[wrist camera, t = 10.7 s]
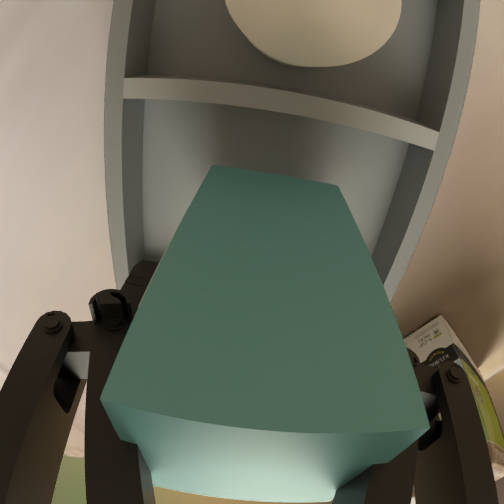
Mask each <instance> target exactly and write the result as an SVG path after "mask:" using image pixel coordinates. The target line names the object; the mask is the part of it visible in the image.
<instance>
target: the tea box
mask: <svg viewBox="0 0 504 504" xmlns="http://www.w3.org/2000/svg"><path fill="white" fill-rule="evenodd" d="M403 340H404V343H405V346H406V347H407V348H409V349H411V350H412V351H413V352H415V353H416V355H417V356H418V358H419V360H420V363H422V364H425V365H428V366H431V367H434V368H437V369H438V367H439V366H440V365H441V364H442V363H443V362H446V361H451V362H455V363H457V364H458V365H460V366H461V367H462V368H463V369H464V371H465V373H466V375H467V377H468V380H469V383H470V386H471V389H472V392H473V395H474V399H475V402H476V405H477V408H478V412H479V415H480V419H481V422H482V426H483V430H484V434H485V438H486V442H487V446H488V450H489V454H490V459H491V464H492V468H493V473H494V479H495V481H496V480H497V479H499V478H501V477H503V476H504V435H503V431H502V429H501V425H500V422H499V419H498V417H497V414H496V411H495V408H494V406H493V403H492V400H491V397H490V395H489V392H488V390H487V387H486V384H485V382H484V380H483V377H482V375H481V373H480V371H479V369H478V368H477V366H476V365H475V363H474V362H473V360H472V358H471V357H470V355H469V354H468V352H467V351H466V349H465V347H464V346H463V344H462V343H461V341H460V340H459V339H458V337H457V336H456V334H455V333H454V331H453V330H452V328H451V327H450V326H449V324H448V323H447V321H446V320H445V319H444V317H443V316H442V315H440V316H438V317H437V318H435V319H434V320H432V321H430V322H429V323H427V324H426V325H424V326H423V327H421V328H419V329H418V330H416V331H415V332H413V333H412V334H410V335H409V336H407V337H406V338H404V339H403ZM439 418H440V420H442V419H441V415H440V414H439ZM411 504H415V491H414V485H413V492H412V498H411Z"/></svg>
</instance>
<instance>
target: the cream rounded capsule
mask: <svg viewBox="0 0 504 504" xmlns="http://www.w3.org/2000/svg"><path fill="white" fill-rule="evenodd" d="M225 3H226V6H227V8H228V11H229V13H230V15H231V17H232V18H233V20H234V22H235V23H236V24H237V26H238V27H239V28H240V30H241V31H242V32H243V33H244V35H245V36H246V37H247V38H248V40H249V41H250V42H251V44H252V45H253V46H254V47H255V48H256V49H257V50H258V51H259V52H260V53H261V54H263V55H264V56H265V57H267V58H269V59H270V60H272V61H275V62H277V63H280V64H282V65H287V66H292V67H331V66H340V65H345V64H350V63H353V62H356V61H359V60H361V59H363V58H365V57H368V56H369V55H371V54H372V53H374V52H376V51H377V50H378V49H379V48H380V47H382V46H383V45H384V44H385V43H386V42H387V40H388V39H389V38H390V37H391V35H392V34H393V32H394V30H395V29H396V26H397V24H398V21H399V18H400V14H401V5H402V0H225Z"/></svg>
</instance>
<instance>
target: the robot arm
mask: <svg viewBox="0 0 504 504" xmlns="http://www.w3.org/2000/svg"><path fill="white" fill-rule="evenodd" d="M186 211H187V210H186ZM185 213H186V212H185ZM184 215H185V214H184ZM183 217H184V216H183ZM182 219H183V218H182ZM181 221H182V220H181ZM181 221H180V223H181ZM180 223H179V224H180ZM178 226H179V225H178ZM177 228H178V227H177ZM176 230H177V229H176ZM175 232H176V231H175ZM174 234H175V233H174ZM173 236H174V235H173ZM172 238H173V237H172ZM171 240H172V239H171ZM170 242H171V241H170ZM170 242H169V244H170ZM169 244H168V246H169ZM168 246H167V248H168ZM167 248H166V250H167ZM166 250H165V252H166ZM165 252H164V254H165ZM164 254H163V256H164ZM163 256H162V258H163ZM162 258H161V260H162ZM161 260H160V262H161ZM160 262H153V261H147V260H142V261H140V262H139V263H138V264H136V265H135V266H134V267H133V268H132V270H131V272H130V274H129V276H128V277H127V279H126V280H125V283H124V284H123V286H122V288H121V289H120V290H116V289H107V290H103V291H100V292H98V293H96V294H95V295H94V296H93V297H92V298H91V300H90V302H89V307H90V311H91V315H92V319H93V321H84V322H71V319H70V317H69V316H68V315H67V314H66V313H64V312H61V311H51V312H47V313H45V314H44V315H42V316H41V317H40V318H39V319H38V320H37V322H36V323H35V325H34V327H33V329H32V330H31V332H30V334H29V336H28V338H27V339H26V341H25V343H24V345H23V347H22V349H21V351H20V352H19V354H18V356H17V358H16V360H15V362H14V364H13V366H12V368H11V370H10V372H9V374H8V376H7V378H6V380H5V382H4V384H3V387H2V389H1V391H0V504H51V502H52V497H53V493H54V489H55V484H56V480H57V476H58V472H59V469H60V465H61V461H62V457H63V454H64V450H65V447H66V443H67V440H68V436H69V433H70V430H71V427H72V423H73V420H74V417H75V414H76V411H77V408H78V405H79V402H80V399H81V396H82V393H83V390H84V387H85V384H86V382H87V391H86V409H85V482H86V500H87V504H155V497H154V491H153V484H152V476H151V472H150V470H149V468H148V466H147V464H146V462H145V460H144V458H143V456H142V454H141V451H140V449H139V447H138V445H137V444H135V443H131V442H127V441H124V440H120V438H119V436H118V434H117V432H116V431H115V429H114V427H113V425H112V423H111V421H110V419H109V417H108V415H107V413H106V411H105V409H104V406H103V404H102V402H101V400H100V397H101V394H102V392H103V389H104V387H105V384H106V382H107V379H108V377H109V374H110V372H111V370H112V367H113V365H114V362H115V360H116V358H117V355H118V353H119V350H120V348H121V346H122V343H123V341H124V339H125V337H126V334H127V332H128V330H129V328H130V325H131V323H132V321H133V319H134V316H135V314H136V312H137V310H138V308H139V305H140V303H141V301H142V299H143V297H144V295H145V293H146V291H147V288H148V286H149V284H150V282H151V280H152V278H153V276H154V274H155V272H156V270H157V268H158V266H159V264H160ZM406 349H407V351H408V354H409V357H410V360H411V364H412V367H413V370H414V373H415V376H416V379H417V383H418V386H419V389H420V393H421V396H422V399H423V403H424V406H425V410H426V414H427V417H428V421H429V425H430V429H428V430H427V431H426V432H425V433H424V434H423V435H422V436H420V437H419V438H418V439H417V440H416V441H415V442H413V443H412V444H411V445H410V446H408V447H407V448H406V449H405V450H404V451H402V452H401V453H400V454H398V455H397V456H396V457H395V458H393V459H392V460H391V461H389V462H388V463H382V464H372V465H371V466H370V467H368V468H367V469H366V470H364V471H363V472H362V473H360V474H359V475H357V476H356V477H355V478H353V479H352V480H350V481H349V482H348V483H346V484H345V485H343V486H342V487H340V488H339V489H337V490H336V492H335V495H334V499H333V502H332V504H411V498H412V492H413V485H414V491H415V504H498V497H497V491H496V484H495V479H494V473H493V468H492V464H491V459H490V454H489V450H488V446H487V442H486V438H485V434H484V430H483V426H482V422H481V419H480V415H479V412H478V408H477V405H476V402H475V399H474V395H473V392H472V389H471V386H470V383H469V380H468V377H467V375H466V373H465V371H464V369H463V368H462V367H461V366H460V365H458V364H457V363H455V362H451V361H446V362H443V363H442V364H441V365H440V366H439V367H438V369H437V368H434V367H431V366H428V365H425V364H422V363H420V360H419V358H418V356H417V355H416V353H415V352H413V351H412V350H411V349H409V348H407V347H406ZM439 414H440V415H441V419H442V420H440V418H439Z"/></svg>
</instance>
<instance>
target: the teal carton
mask: <svg viewBox="0 0 504 504" xmlns="http://www.w3.org/2000/svg"><path fill="white" fill-rule="evenodd" d="M100 400H101V402H102V404H103V406H104V409H105V411H106V413H107V415H108V417H109V419H110V421H111V423H112V425H113V427H114V429H115V431H116V432H117V434H118V436H119V438H120V440H124V441H127V442H131V443H135V444H137V445H138V447H139V449H140V451H141V454H142V456H143V458H144V460H145V462H146V464H147V466H148V468H149V470H150V472H151V476H152V484H153V486H157V487H162V488H166V489H171V490H176V491H181V492H186V493H192V494H199V495H204V496H211V497H219V498H227V499H236V500H249V501H263V502H329V501H331V500H333V499H334V495H335V492H336V490H337V489H339V488H340V487H342V486H343V485H345V484H346V483H348V482H349V481H350V480H352V479H353V478H355V477H356V476H357V475H359V474H360V473H362V472H363V471H364V470H366V469H367V468H368V467H370V466H371V465H372V464H382V463H388V462H389V461H391V460H392V459H393V458H395V457H396V456H397V455H398V454H400V453H401V452H402V451H404V450H405V449H406V448H407V447H408V446H410V445H411V444H412V443H413V442H415V441H416V440H417V439H418V438H419V437H420V436H422V435H423V434H424V433H425V432H426V431H427V430H428V429H430V425H429V421H428V417H427V414H426V410H425V406H424V403H423V399H422V396H421V393H420V389H419V386H418V383H417V379H416V376H415V373H414V370H413V367H412V364H411V360H410V357H409V354H408V351H407V349H406V346H405V343H404V340H403V337H402V334H401V331H400V329H399V326H398V323H397V320H396V318H395V315H394V312H393V310H392V307H391V304H390V302H389V299H388V297H387V294H386V291H385V289H384V286H383V284H382V282H381V279H380V277H379V274H378V272H377V269H376V267H375V265H374V262H373V260H372V258H371V255H370V253H369V251H368V248H367V246H366V244H365V242H364V239H363V237H362V235H361V233H360V230H359V228H358V226H357V224H356V222H355V220H354V217H353V215H352V213H351V211H350V209H349V207H348V205H347V203H346V201H345V199H344V197H343V195H342V193H341V191H340V189H339V187H338V185H334V184H329V183H324V182H318V181H313V180H307V179H302V178H296V177H291V176H285V175H279V174H273V173H266V172H260V171H253V170H247V169H240V168H232V167H225V166H217V165H212V166H211V168H210V170H209V171H208V173H207V175H206V177H205V178H204V180H203V182H202V184H201V186H200V187H199V189H198V191H197V193H196V195H195V196H194V198H193V200H192V202H191V204H190V206H189V207H188V209H187V211H186V213H185V215H184V217H183V219H182V221H181V223H180V224H179V226H178V228H177V230H176V232H175V234H174V236H173V238H172V240H171V242H170V244H169V246H168V248H167V250H166V252H165V254H164V256H163V258H162V260H161V262H160V264H159V266H158V268H157V270H156V272H155V274H154V276H153V278H152V280H151V282H150V284H149V286H148V288H147V291H146V293H145V295H144V297H143V299H142V301H141V303H140V305H139V308H138V310H137V312H136V314H135V316H134V319H133V321H132V323H131V325H130V328H129V330H128V332H127V334H126V337H125V339H124V341H123V343H122V346H121V348H120V350H119V353H118V355H117V358H116V360H115V362H114V365H113V367H112V370H111V372H110V374H109V377H108V379H107V382H106V384H105V387H104V389H103V392H102V394H101V397H100Z"/></svg>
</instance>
